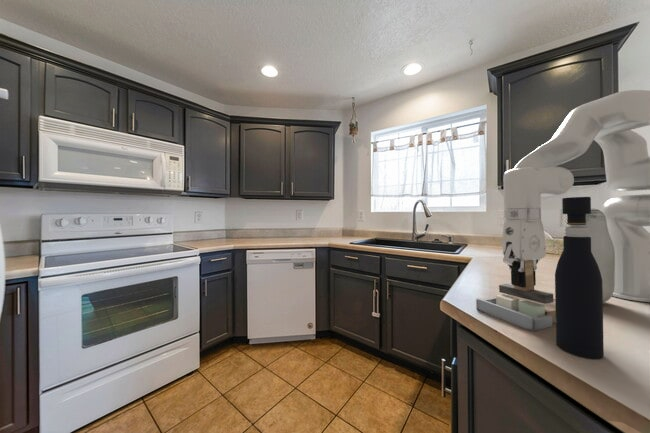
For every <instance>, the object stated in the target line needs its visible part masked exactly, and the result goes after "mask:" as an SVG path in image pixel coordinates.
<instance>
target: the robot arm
mask: <svg viewBox="0 0 650 433" xmlns="http://www.w3.org/2000/svg"><path fill="white" fill-rule="evenodd" d="M649 126H650V90H647V89H646V90H644V89H630V90H629V89H628V90H622V91H621V90H620V91H617V92H615V93H612V94H609V95H606V96H603V97H601V98H598V99H595V100H592V101H588V102H586V103H584V104H581V105H579V106H577V107H574V108H573V109H572V110H571V111H570V112H569V113H568V114H567V116H566V117H565V118H564V120H563V121H562V122H561V124H560V125H559V127H558V128H557V130H556V131H555V132H554V134H553V135H552V137H551V139H549V140H548V141H546V142H544V144H541V146H538V147H537V148H536V149H535V150H533V151H532V152H530V153H528V154H527V155H526V156H524V157H523V158H522V159H520V160H519V161H518V163H516V164H515V166H514V168H512V169H509V170H507V171H505V172H504V174H503V176H502V177H503V180H502V181H503V216H504V217H503V219H504V222H503V228H502V237H501V238H502V239H501V240H502V242H501V243H502V244H501V247H502V248H501V249H502V255H503V258H502V262H503V263H505V264H507V266H508V267H509V270H510V282H511V283H510V285H515V286H519V287H523V288H524V287H526V272H523V271H524V261H526V260H532V262H533V277H534V287H535V286H536V285H537V284H536V281H537V280H536V271H537V269H538V267H537V264H538V263H539V261H540V260H542V259H543V258H545V257H546V256H547V254H546V253H547V248H546V247H547V246H546V236H545V230H544V226H543V222H542V207H541V206H542V203H541V197H551V196H552V197H553V196H559V195H562V194H565V193H567V192H568V191H569V190H571V188H572V187H573V185H574V183H575V178H574V175H573V173H572V172H571V171H570V170H569V169H568V168H565V167H561V166H559V165H563V164H565V163H568V162H570V161H572V160H575V159H576V158H578V157H580V156H582V155H583V154H584V153H586V152H587V151H588V149H589V148H590V146H591V145H592V143H593V141H595V142H596V143H597V144H598V145H599V147H600V148H601V150H602V153H603V160H604V168H605V169H604V170H605V179H606V184H607V186H608V188H609V190H612V191H615V192H634V191H647V190H649V191H650V155H649V152H648V142H647V140H646V139H645V137H643V135H641V134H639V133H638V132H636V131H634V130H635V129H639V128H645V127H649ZM601 210H602V212H603V213H604V215H605V217H606V222H607V227H608V232H609V235H610V238H611V240H612V243H613V246H614V251H615V287H614V293H613V295H612V297H615V298H619V299H623V300H630V301H635V302H643V303H650V231H648V230H647V229H646V227H650V193H648V194H643V193H642V194H629V195H628V194H626V195H618V196H614V197H611V198H608V199H607V200H606V201H605V202H604V203H603V204H602V207H601ZM516 258H519V259H516ZM515 261H518V262H519V264H518V263H517V262H515Z"/></svg>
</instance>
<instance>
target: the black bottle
mask: <svg viewBox="0 0 650 433" xmlns="http://www.w3.org/2000/svg"><path fill="white" fill-rule="evenodd" d="M561 201H562V202H561V205H562V206H561V207H562V209H561V210H562V212H561V213H562V215H567V216H566V219H567V220H566V225H568V226H569V225H586V214H591V208H592V198H591V196H574V197H573V196H571V197H562V199H561ZM568 226H566V227H565V228H564V231H565V232H564V234H565V236H563V239H562V240H563V243H562V244H563V249H564V250H563V249H562V252H561V255H560V257H559V258H558V261H557V264H556V267H555V273H554V282H555V283H554V289H555V290H554V292H555V293H554V299H555V305H556V322H555V339H556V340H555V342H556V346H557V347H558V348H559V349H561V350H562V351H564V352H566V353H569V354H570V355H574V356H577V357H580V358H584V359H590V360H601V359H604V356H605V355H604V354H605V352H604V346H605V345H604V302H603V287H602V277H601V273H600V270H599V266H598V264H597V262H596V260H595V258H594V256H593V254H592V252H591V237H588V235H589V233H588V231H589V230H588V227H568Z"/></svg>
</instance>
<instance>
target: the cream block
mask: <svg viewBox="0 0 650 433" xmlns="http://www.w3.org/2000/svg"><path fill="white" fill-rule="evenodd" d="M508 295H509V294H505V293H502V294H499V295H498V294H497V295H495V298H496V305H499V306H502V307H505V308H508V309H511V310H514V311H517V312H519V299H518V298H514V297H511V296H508Z"/></svg>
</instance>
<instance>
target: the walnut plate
mask: <svg viewBox="0 0 650 433" xmlns="http://www.w3.org/2000/svg"><path fill="white" fill-rule="evenodd" d="M507 295H508V296H511V297H514V298H518V299H519V302H521V301H526V300H527V301H530V302H534V303H537V304H540V305H544V306H545V316H546V315H550V316H552V324H556V305H555V298H553V299H554V302H552V303H547V304H544V303H540V302H536V301H533V300H529V299H525V298H521V297H517V296H513V295H509V294H507Z"/></svg>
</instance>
